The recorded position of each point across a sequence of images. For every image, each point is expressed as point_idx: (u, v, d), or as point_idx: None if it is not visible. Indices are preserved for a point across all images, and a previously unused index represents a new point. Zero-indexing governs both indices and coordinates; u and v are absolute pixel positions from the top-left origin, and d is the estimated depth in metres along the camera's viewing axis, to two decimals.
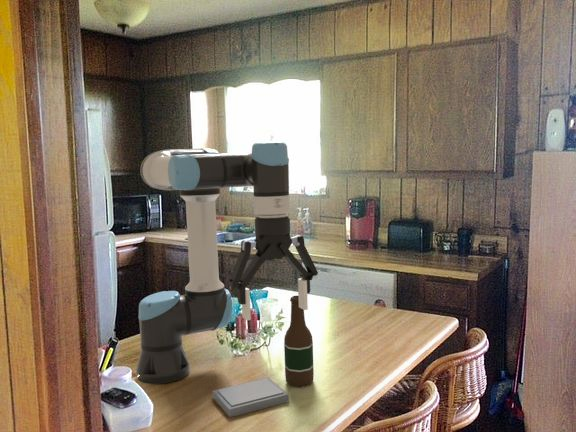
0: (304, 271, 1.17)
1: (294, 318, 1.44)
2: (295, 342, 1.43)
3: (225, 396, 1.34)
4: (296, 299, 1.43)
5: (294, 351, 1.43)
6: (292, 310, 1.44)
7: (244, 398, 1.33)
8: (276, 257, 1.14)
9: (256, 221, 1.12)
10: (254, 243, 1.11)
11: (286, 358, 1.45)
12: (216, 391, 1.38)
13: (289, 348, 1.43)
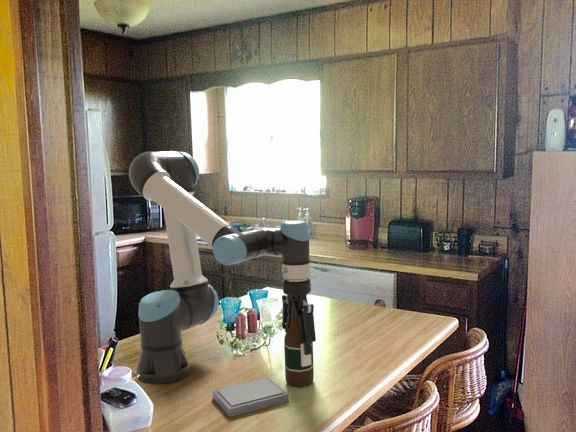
0: (302, 335, 1.41)
1: (294, 318, 1.44)
2: (295, 342, 1.43)
3: (225, 396, 1.34)
4: None
5: (294, 351, 1.43)
6: (292, 310, 1.44)
7: (244, 398, 1.33)
8: None
9: None
10: None
11: (286, 358, 1.45)
12: (216, 391, 1.38)
13: (289, 348, 1.43)
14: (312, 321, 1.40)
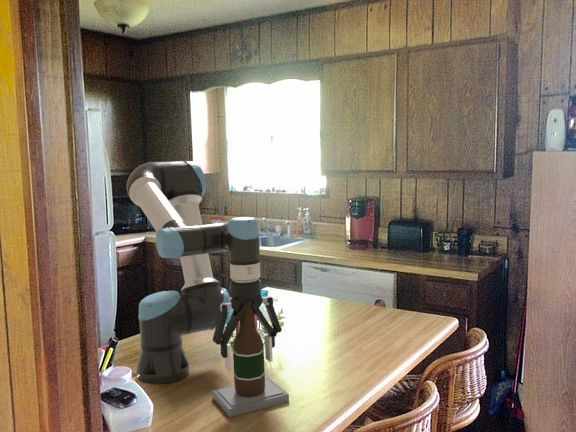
0: (270, 329, 1.37)
1: (253, 322, 1.34)
2: (261, 345, 1.35)
3: (225, 396, 1.34)
4: None
5: (261, 354, 1.35)
6: (249, 314, 1.34)
7: (244, 398, 1.33)
8: None
9: (231, 285, 1.32)
10: (230, 304, 1.32)
11: (253, 368, 1.33)
12: (216, 391, 1.38)
13: (259, 354, 1.33)
14: None
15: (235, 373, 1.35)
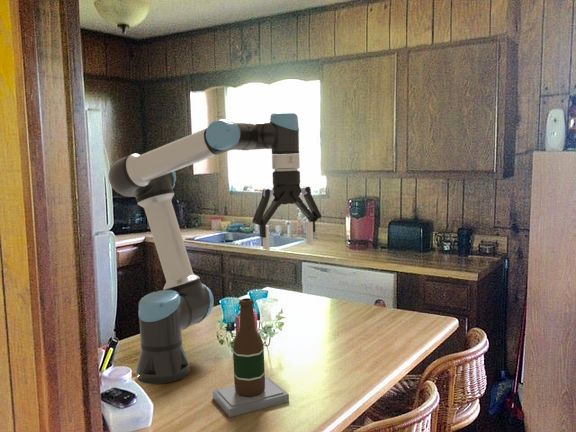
0: (311, 214, 1.50)
1: (253, 322, 1.34)
2: (261, 345, 1.35)
3: (225, 396, 1.34)
4: (252, 300, 1.34)
5: (261, 354, 1.35)
6: (249, 314, 1.34)
7: (244, 398, 1.33)
8: (289, 202, 1.47)
9: (274, 174, 1.45)
10: (272, 190, 1.45)
11: (253, 368, 1.33)
12: (216, 391, 1.38)
13: (259, 354, 1.33)
14: None
15: (235, 373, 1.35)
